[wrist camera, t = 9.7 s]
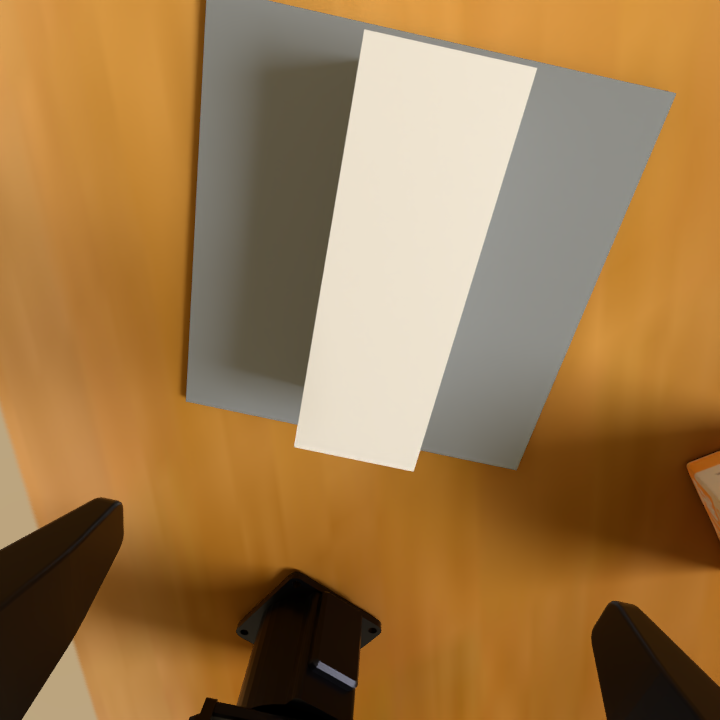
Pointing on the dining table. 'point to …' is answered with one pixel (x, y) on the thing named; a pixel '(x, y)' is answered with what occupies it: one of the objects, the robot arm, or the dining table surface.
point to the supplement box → (708, 485)
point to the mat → (316, 207)
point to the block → (405, 241)
